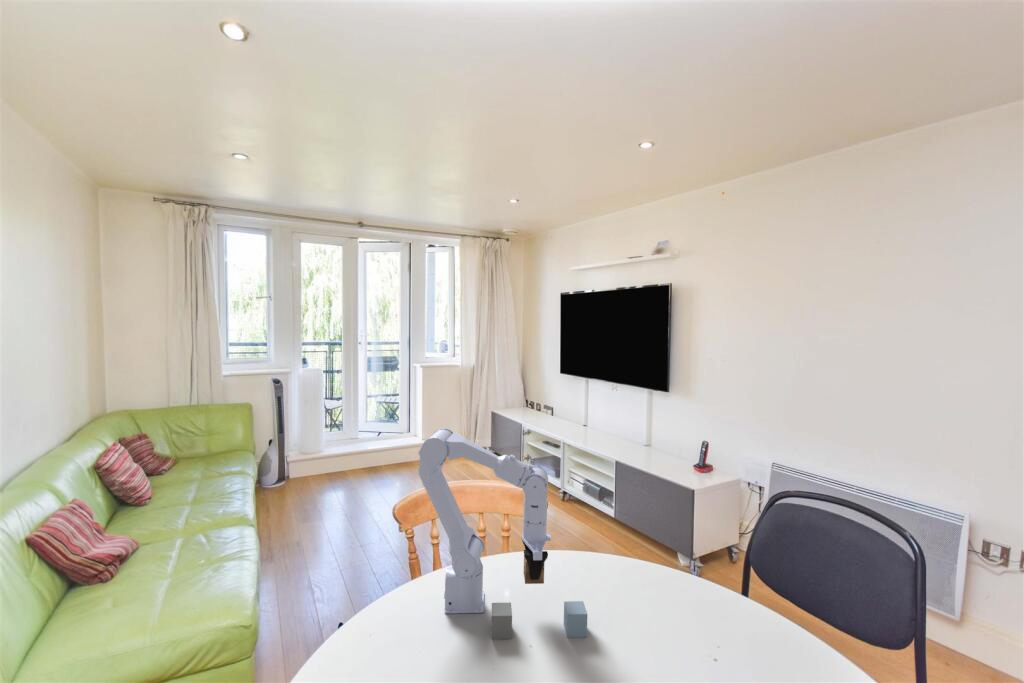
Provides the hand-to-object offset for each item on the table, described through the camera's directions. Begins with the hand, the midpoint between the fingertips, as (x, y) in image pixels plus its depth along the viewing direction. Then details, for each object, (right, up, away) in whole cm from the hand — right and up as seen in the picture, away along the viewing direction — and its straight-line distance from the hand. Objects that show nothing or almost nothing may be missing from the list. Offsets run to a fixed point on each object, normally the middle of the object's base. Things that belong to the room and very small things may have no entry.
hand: (533, 572), depth 110 cm
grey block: (-8, -10, -7) cm, 15 cm away
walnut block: (0, -1, 0) cm, 1 cm away
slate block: (+9, -10, -6) cm, 15 cm away
